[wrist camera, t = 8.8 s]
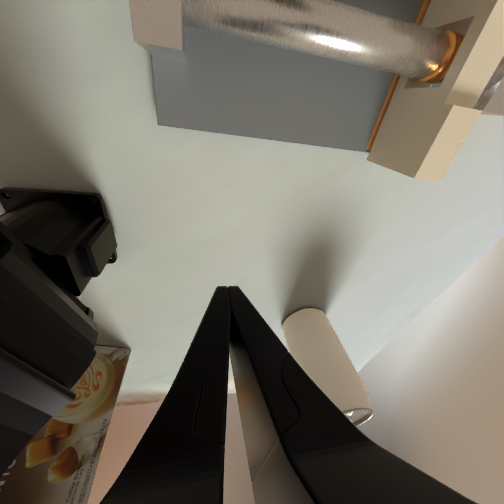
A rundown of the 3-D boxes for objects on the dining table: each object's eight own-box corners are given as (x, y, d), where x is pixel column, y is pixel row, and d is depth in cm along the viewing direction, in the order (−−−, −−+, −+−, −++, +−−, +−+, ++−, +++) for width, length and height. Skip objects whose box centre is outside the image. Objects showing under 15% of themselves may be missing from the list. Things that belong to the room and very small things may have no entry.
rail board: (160, 123, 15) (157, 125, 14) (134, -183, 9) (126, -213, 8) (420, 157, 20) (429, 160, 19) (518, -30, 14) (539, -38, 13)
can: (320, 299, 29) (377, 400, 19) (328, 325, 33) (378, 420, 23) (275, 316, 30) (308, 423, 20) (287, 340, 33) (320, 439, 24)
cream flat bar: (366, 159, 18) (414, 178, 14) (468, -94, 11) (621, -207, 7) (387, 162, 18) (439, 181, 14) (498, -81, 11) (658, -179, 7)
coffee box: (45, 367, 28) (-98, 604, 15) (46, 337, 25) (-130, 599, 12) (124, 373, 31) (66, 568, 18) (134, 347, 28) (72, 557, 15)
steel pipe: (151, 54, 12) (133, 40, 9) (140, -60, 10) (112, -127, 7) (455, 112, 17) (508, 116, 14) (493, 43, 15) (565, 29, 12)
